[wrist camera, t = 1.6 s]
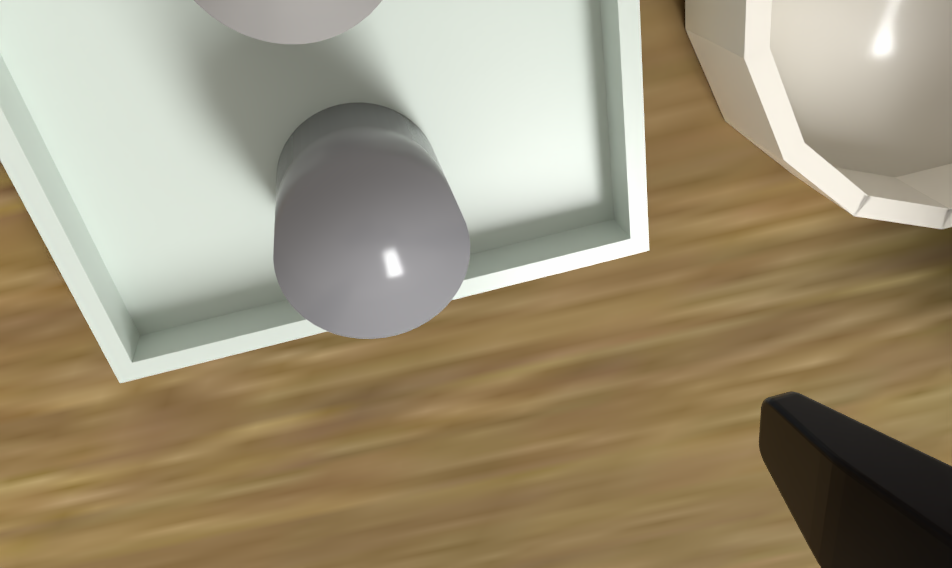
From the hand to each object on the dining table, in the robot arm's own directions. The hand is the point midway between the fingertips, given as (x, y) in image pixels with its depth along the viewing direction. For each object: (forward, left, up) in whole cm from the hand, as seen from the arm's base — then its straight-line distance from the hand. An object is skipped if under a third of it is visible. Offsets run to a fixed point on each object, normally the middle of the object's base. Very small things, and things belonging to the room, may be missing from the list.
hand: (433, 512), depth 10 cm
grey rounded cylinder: (0, 0, -11) cm, 11 cm away
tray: (+3, 0, -12) cm, 12 cm away
